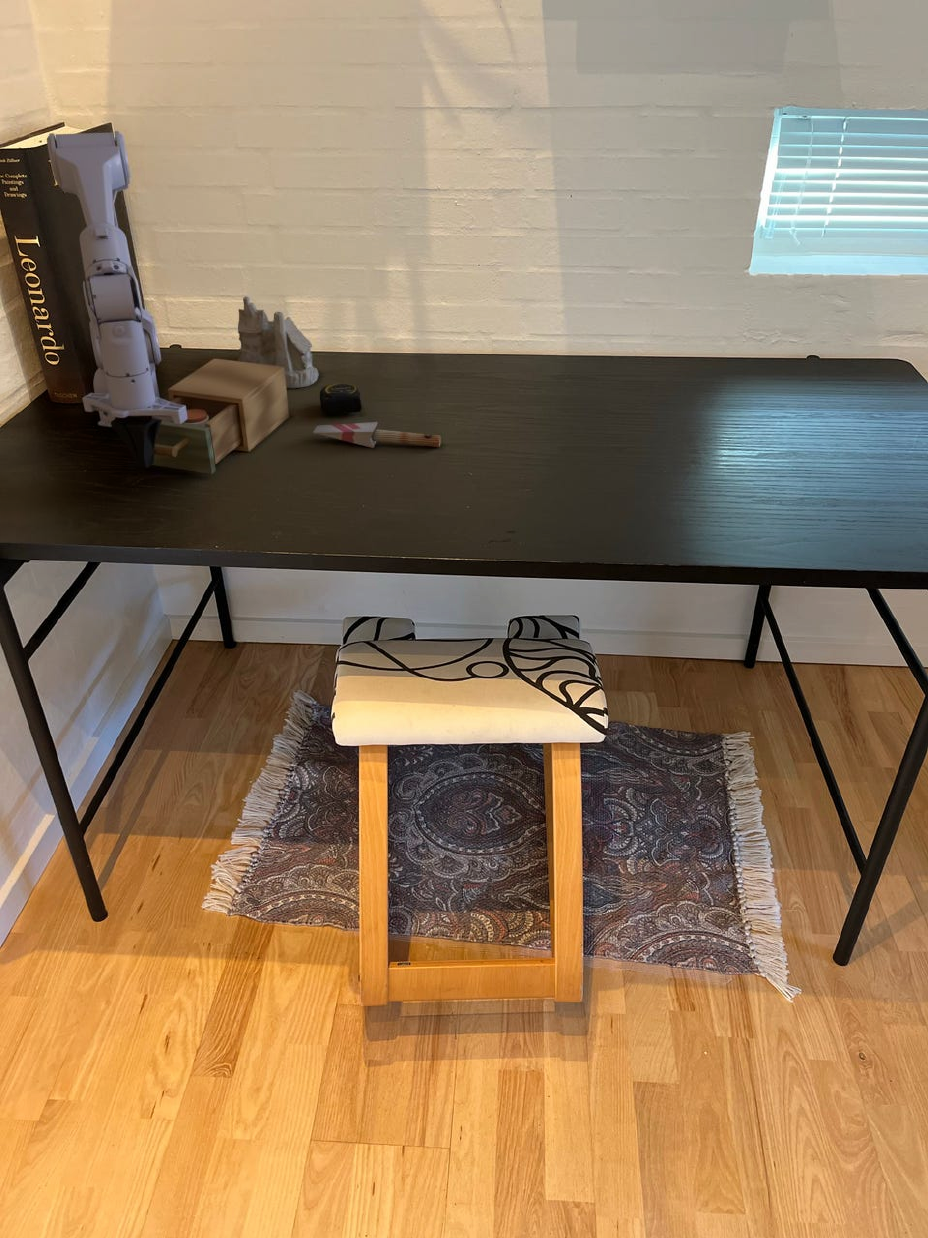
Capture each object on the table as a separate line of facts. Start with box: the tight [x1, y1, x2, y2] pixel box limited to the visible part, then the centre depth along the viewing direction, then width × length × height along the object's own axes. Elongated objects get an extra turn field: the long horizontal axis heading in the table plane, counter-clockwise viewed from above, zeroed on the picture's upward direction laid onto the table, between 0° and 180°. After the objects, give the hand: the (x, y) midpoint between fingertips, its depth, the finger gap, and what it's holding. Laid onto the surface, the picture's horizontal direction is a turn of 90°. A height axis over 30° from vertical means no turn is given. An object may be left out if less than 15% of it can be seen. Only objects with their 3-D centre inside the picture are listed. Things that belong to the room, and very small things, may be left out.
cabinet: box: [167, 358, 290, 453], centre depth 152 cm, size 15×13×9 cm
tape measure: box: [319, 382, 363, 415], centre depth 160 cm, size 7×7×4 cm
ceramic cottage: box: [237, 295, 319, 389], centre depth 172 cm, size 16×16×15 cm
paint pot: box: [181, 409, 209, 427], centre depth 143 cm, size 4×4×5 cm
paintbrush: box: [312, 421, 442, 449], centre depth 149 cm, size 4×3×20 cm
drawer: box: [150, 396, 243, 475], centre depth 141 cm, size 18×11×7 cm, turn 164°
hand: (145, 464), depth 132 cm, fingers closed
